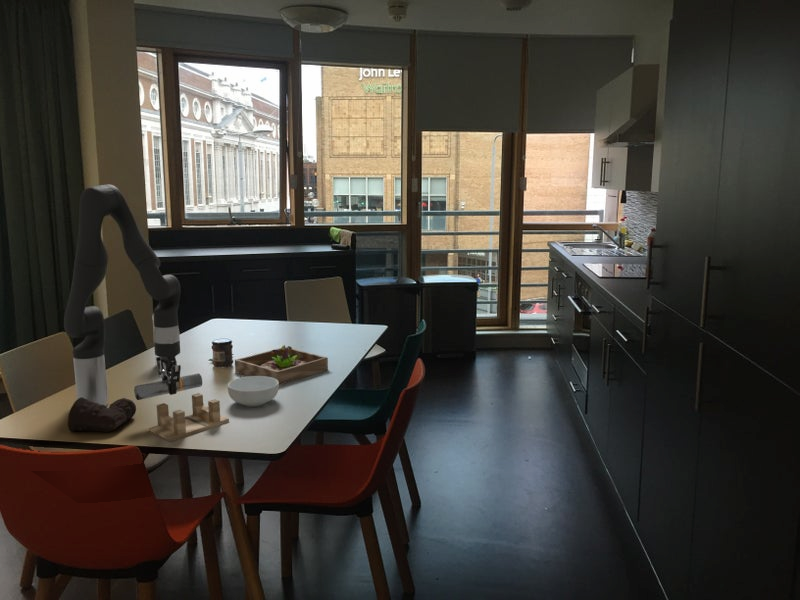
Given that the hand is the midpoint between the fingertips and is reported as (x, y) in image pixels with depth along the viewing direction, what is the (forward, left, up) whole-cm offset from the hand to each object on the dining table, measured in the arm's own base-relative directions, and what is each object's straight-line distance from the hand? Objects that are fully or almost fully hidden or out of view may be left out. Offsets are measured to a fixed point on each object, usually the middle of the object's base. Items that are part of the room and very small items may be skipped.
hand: (169, 391), depth 202 cm
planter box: (-11, +55, -8) cm, 57 cm away
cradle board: (+12, -1, -8) cm, 14 cm away
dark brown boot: (-9, -17, -9) cm, 22 cm away
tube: (0, 0, 0) cm, 1 cm away
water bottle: (-54, +30, -9) cm, 63 cm away
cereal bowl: (+10, +25, -9) cm, 28 cm away
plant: (-11, +56, -9) cm, 58 cm away
